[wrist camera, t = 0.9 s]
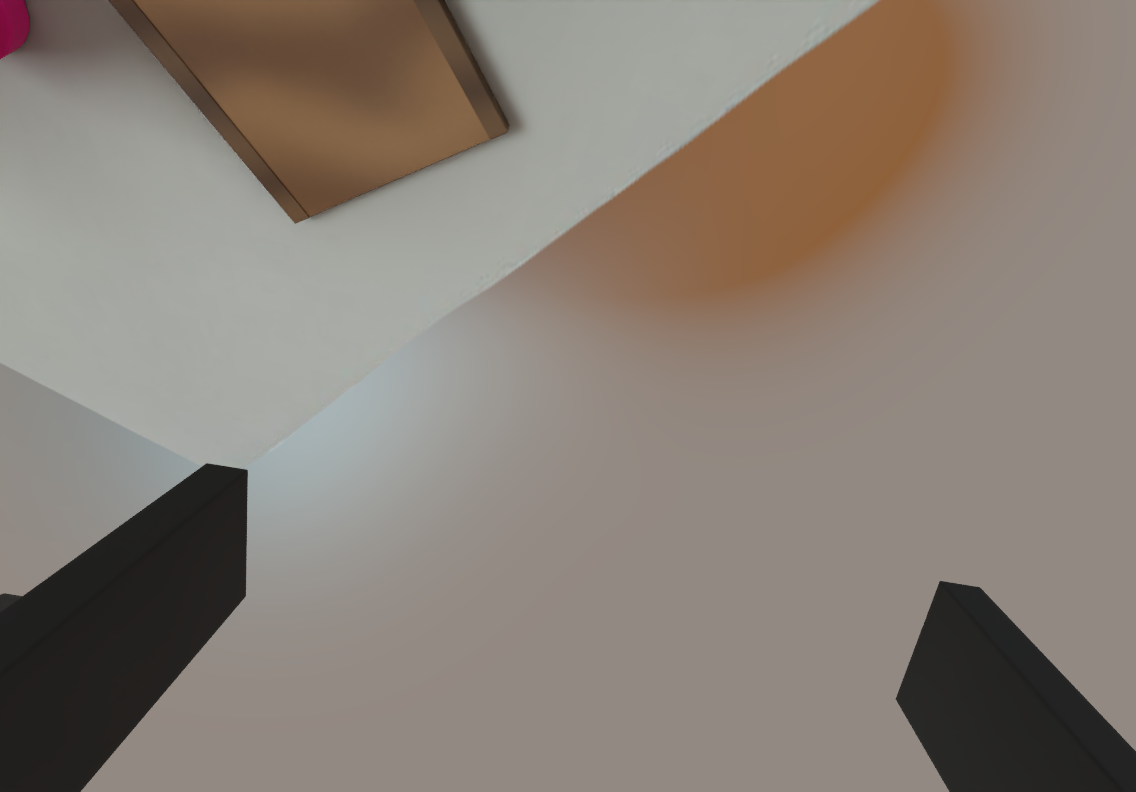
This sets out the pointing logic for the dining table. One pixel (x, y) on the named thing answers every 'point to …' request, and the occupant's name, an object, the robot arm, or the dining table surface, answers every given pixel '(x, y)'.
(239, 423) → the dining table surface
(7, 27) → the pepper mill
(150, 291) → the dining table surface
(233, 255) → the dining table surface
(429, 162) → the square wooden board
